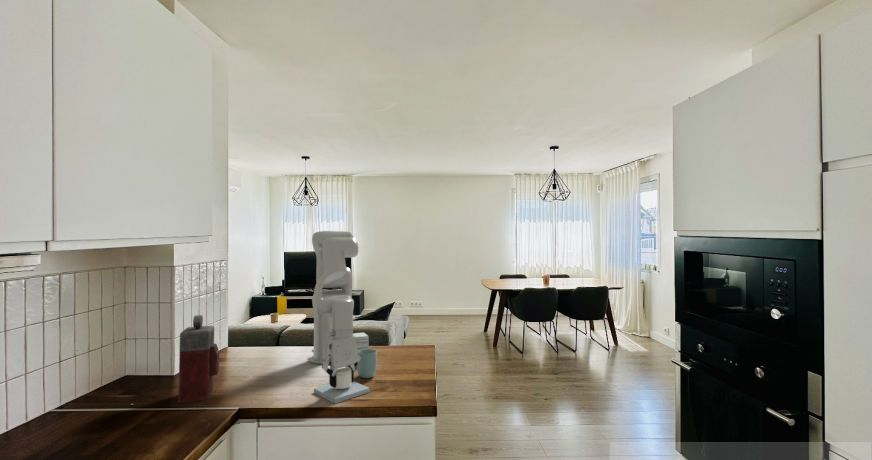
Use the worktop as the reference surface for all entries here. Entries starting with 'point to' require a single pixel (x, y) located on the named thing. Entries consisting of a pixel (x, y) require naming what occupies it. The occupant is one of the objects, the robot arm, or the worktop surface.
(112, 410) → the worktop surface
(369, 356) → the cup
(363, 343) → the supplement box
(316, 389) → the stud plate
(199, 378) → the red grey canister
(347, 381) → the cap
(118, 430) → the worktop surface
